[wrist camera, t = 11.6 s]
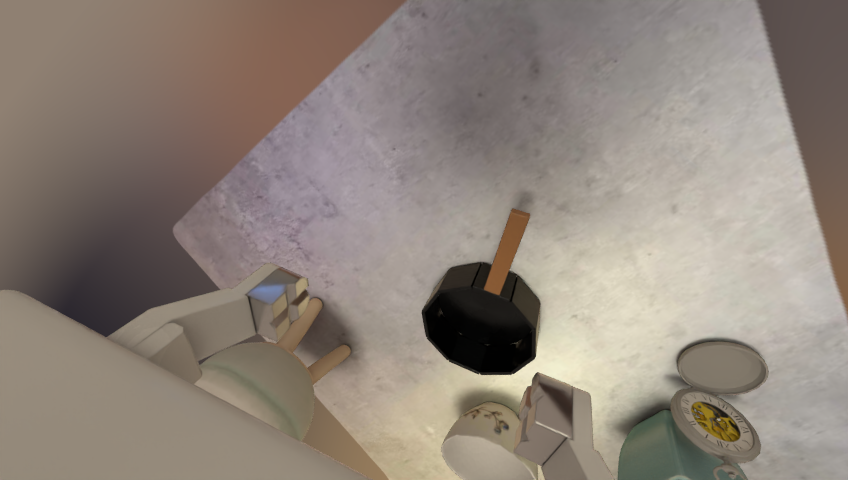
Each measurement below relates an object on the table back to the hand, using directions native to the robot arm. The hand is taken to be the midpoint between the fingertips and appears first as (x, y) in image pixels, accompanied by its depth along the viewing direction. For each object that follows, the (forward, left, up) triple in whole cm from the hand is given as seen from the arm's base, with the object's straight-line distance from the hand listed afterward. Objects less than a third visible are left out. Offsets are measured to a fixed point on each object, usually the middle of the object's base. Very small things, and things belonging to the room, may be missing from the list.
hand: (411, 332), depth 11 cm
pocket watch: (+29, -6, -24) cm, 38 cm away
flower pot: (+34, -15, -24) cm, 44 cm away
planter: (-7, -41, -24) cm, 48 cm away
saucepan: (+7, -13, -23) cm, 28 cm away
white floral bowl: (+23, -33, -24) cm, 47 cm away
